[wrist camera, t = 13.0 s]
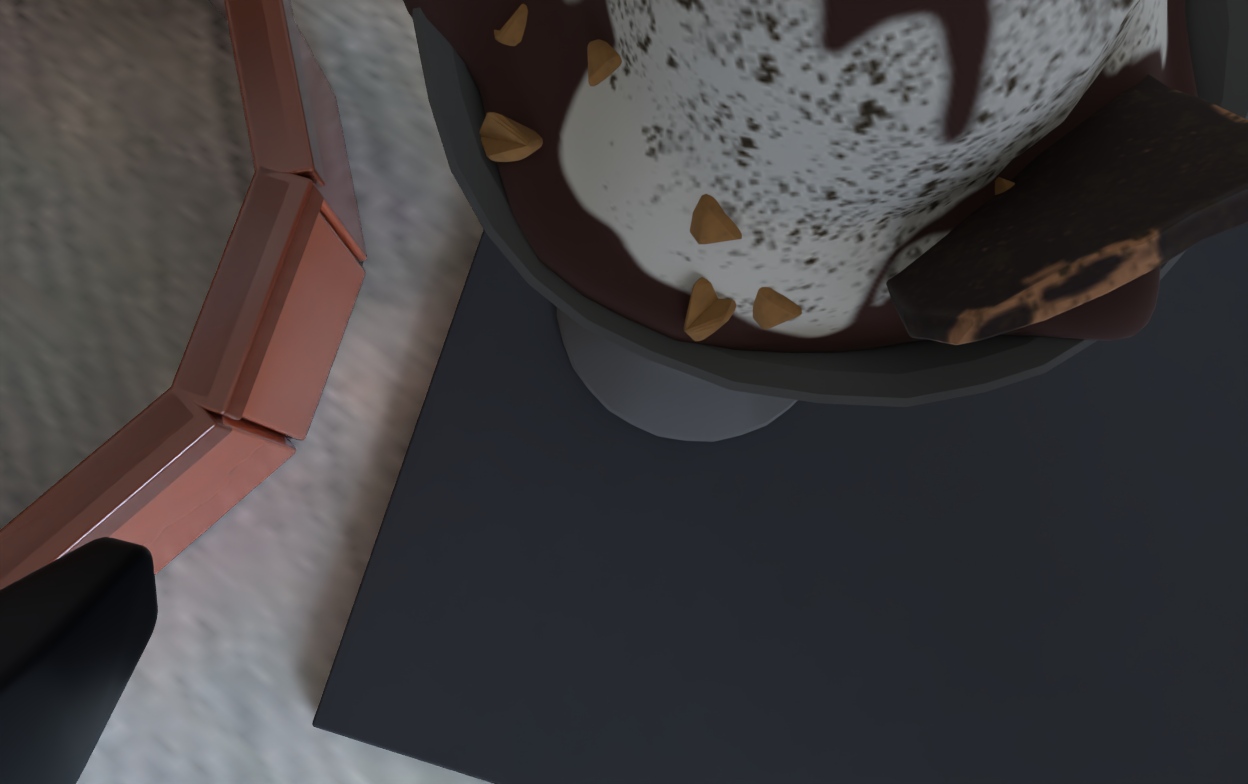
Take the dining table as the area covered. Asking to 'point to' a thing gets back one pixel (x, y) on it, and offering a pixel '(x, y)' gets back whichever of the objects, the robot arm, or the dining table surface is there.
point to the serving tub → (231, 328)
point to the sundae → (837, 185)
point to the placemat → (819, 571)
